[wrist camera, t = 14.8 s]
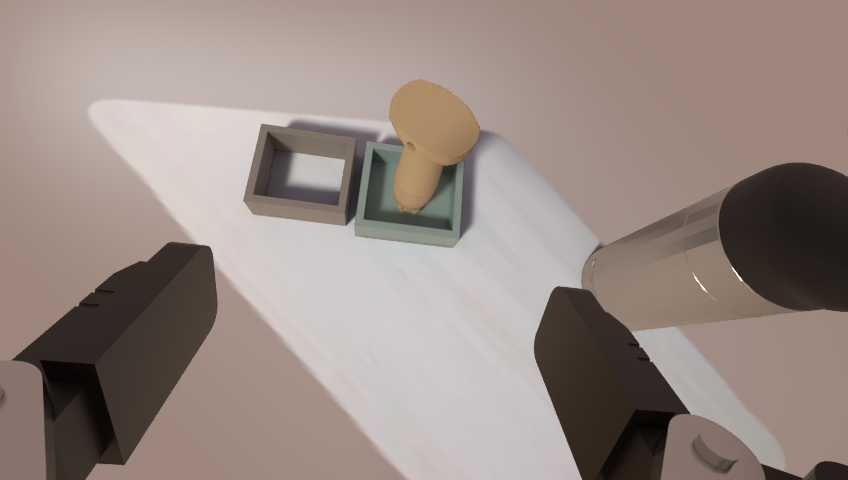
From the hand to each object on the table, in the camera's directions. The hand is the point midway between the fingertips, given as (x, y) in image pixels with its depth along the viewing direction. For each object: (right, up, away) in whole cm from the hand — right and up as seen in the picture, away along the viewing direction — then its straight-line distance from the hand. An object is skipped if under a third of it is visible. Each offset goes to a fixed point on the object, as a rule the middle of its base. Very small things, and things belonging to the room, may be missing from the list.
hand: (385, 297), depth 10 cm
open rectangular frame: (-11, +7, +32) cm, 34 cm away
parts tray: (-1, +5, +33) cm, 33 cm away
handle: (-1, +5, +32) cm, 32 cm away
